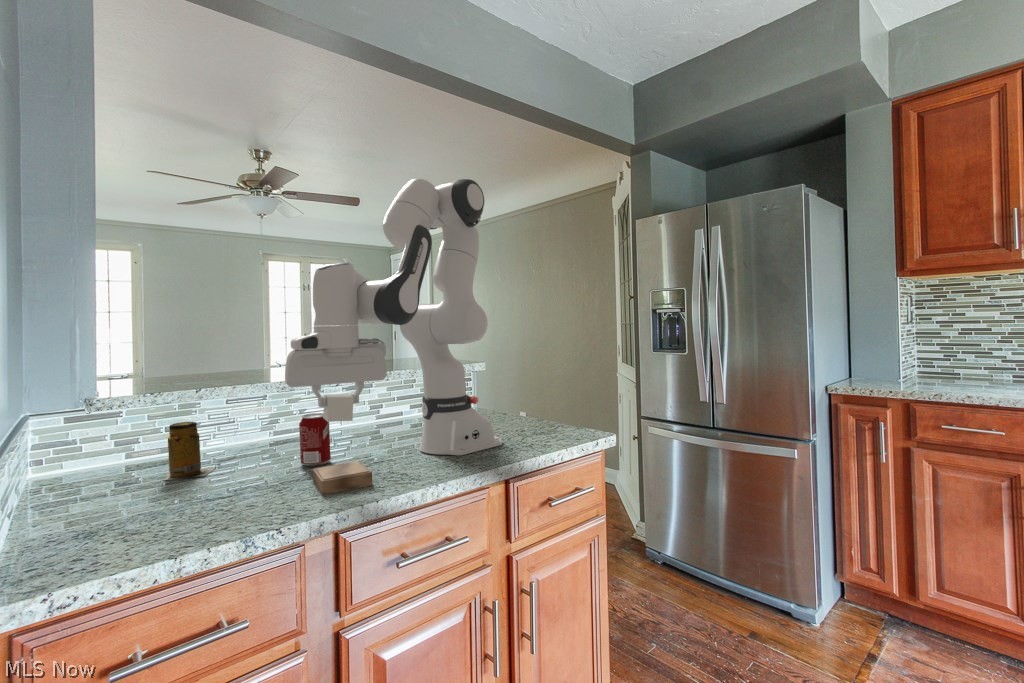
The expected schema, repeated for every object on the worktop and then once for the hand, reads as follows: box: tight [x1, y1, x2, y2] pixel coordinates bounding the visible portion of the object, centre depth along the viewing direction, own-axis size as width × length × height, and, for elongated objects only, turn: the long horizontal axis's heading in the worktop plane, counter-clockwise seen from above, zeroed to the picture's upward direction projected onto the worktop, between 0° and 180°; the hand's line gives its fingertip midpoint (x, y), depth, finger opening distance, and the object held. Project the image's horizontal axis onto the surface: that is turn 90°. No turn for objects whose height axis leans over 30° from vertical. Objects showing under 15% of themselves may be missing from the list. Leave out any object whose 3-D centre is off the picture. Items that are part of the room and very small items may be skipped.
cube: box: [322, 393, 354, 423], centre depth 102 cm, size 5×5×5 cm
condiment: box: [162, 421, 216, 481], centre depth 111 cm, size 7×8×12 cm
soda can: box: [298, 412, 331, 468], centre depth 117 cm, size 7×7×12 cm
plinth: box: [312, 460, 373, 496], centre depth 102 cm, size 10×10×3 cm
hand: (338, 404), depth 102 cm, fingers closed on cube, 5 cm apart
